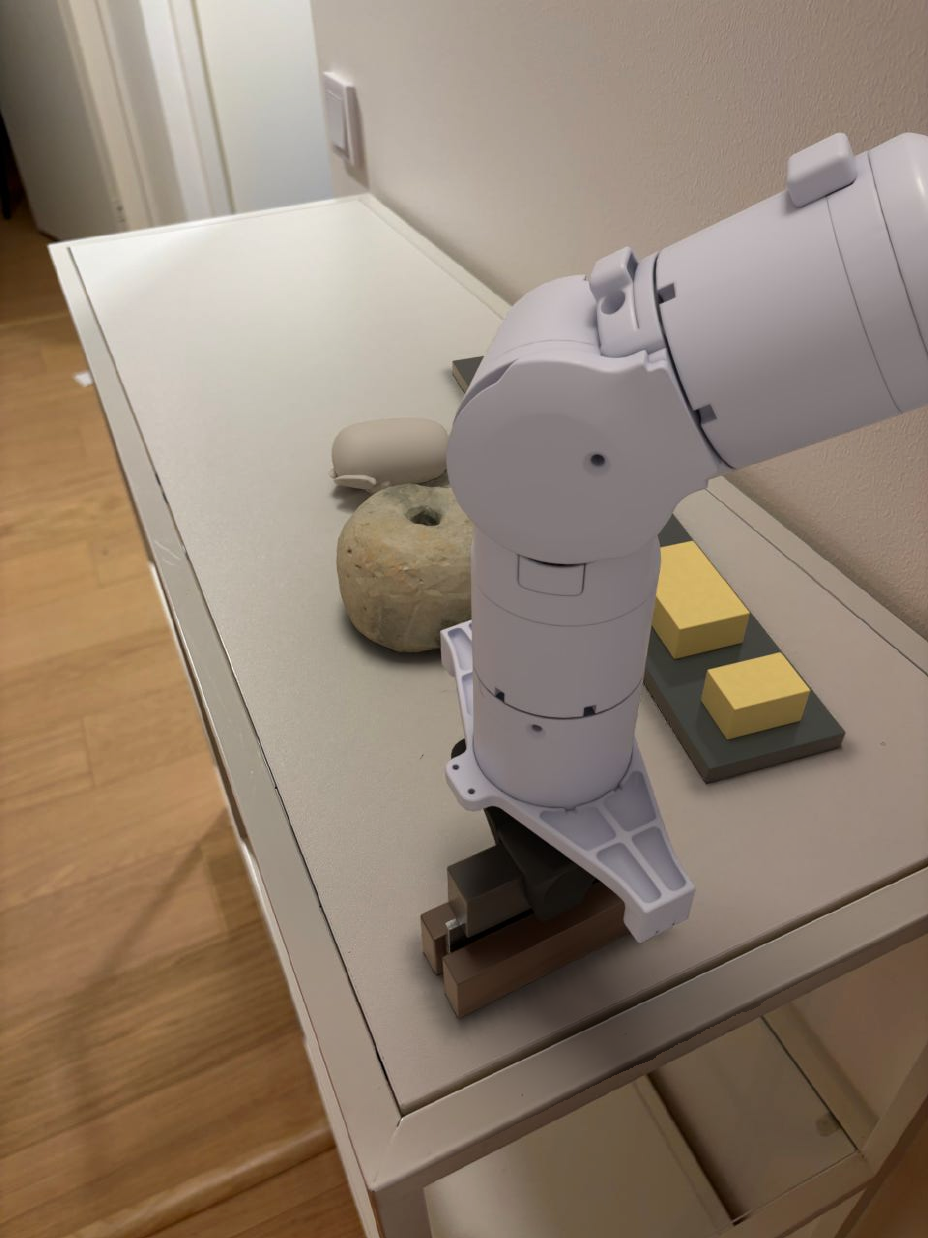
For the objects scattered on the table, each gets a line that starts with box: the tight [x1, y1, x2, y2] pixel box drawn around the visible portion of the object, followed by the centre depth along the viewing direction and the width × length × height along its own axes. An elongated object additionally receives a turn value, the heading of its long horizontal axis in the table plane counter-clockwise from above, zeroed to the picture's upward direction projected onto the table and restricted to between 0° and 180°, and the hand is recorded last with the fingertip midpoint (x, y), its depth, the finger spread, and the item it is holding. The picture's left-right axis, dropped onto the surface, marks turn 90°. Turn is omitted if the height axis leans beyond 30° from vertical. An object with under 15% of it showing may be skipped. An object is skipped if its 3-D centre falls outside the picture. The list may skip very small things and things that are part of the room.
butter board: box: [451, 355, 847, 784], centre depth 67 cm, size 46×8×1 cm, turn 17°
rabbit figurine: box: [328, 417, 452, 495], centre depth 70 cm, size 6×5×12 cm
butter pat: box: [701, 652, 810, 739], centre depth 52 cm, size 3×4×2 cm
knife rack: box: [419, 881, 631, 1019], centre depth 43 cm, size 4×10×3 cm, turn 117°
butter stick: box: [652, 540, 751, 659], centre depth 58 cm, size 7×4×2 cm, turn 17°
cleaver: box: [445, 842, 600, 955], centre depth 42 cm, size 2×9×7 cm, turn 117°
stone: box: [335, 483, 474, 654], centre depth 58 cm, size 10×10×10 cm
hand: (542, 883), depth 41 cm, fingers closed on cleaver, 2 cm apart
